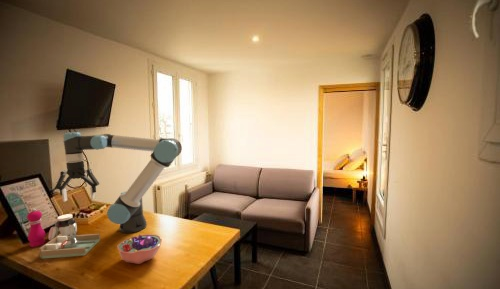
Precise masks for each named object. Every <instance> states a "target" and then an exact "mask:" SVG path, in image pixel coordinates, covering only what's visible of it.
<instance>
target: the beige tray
mask: <svg viewBox="0 0 500 289" xmlns="http://www.w3.org/2000/svg"><path fill="white" fill-rule="evenodd" d="M65 240H68V241H71V239H70V236H62V234H59V235H58V236H57V235H55V236H54V238H53V239H52V240H49V241H48V242H45V243H44V244H43V245H41V246H40V247H39V248H38V250H39V251H38V252H39V259H41V260H42V259H43V260H44V259H54V258H55V259H56V258H68V257H69V258H70V257H78V256H79V257H80V256H81V257H82V256H86V255H87V254H88V252H89V253H90V251H91V250H92V249H93V248H94V247H96V245H97V244H98V243H99V242H100V241H101V235H100V233H94V234H93V233H91V234H90V233H89V234H80V235H79V234H76V240H77V241H79V240H80V245H78V246H77V247H73V248H63V249H57V243H63V242H64V241H65Z"/></svg>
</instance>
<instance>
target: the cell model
mask: <svg viewBox="0 0 500 289" xmlns="http://www.w3.org/2000/svg"><path fill="white" fill-rule="evenodd" d="M162 241H163V240H162V238H161V236H160V235H157V234H148V233H147V234H146V233H145V234H138V235H137V236H136V235H135V236H132V237H129V238H126V239H124V240H122V241H121V242H120V243H118V244H117V246H116V248H117V250H118V252H119V255H120V258H121V259H122V260H123V261H124V262H126V263H129V264H130V263H131V264H135V265H140V264H142V263H144V262H147V261H150V260H151V259H153V258H154V257H155V256H156V255H157V254H158V251H159V249H160V248H161V246H162Z"/></svg>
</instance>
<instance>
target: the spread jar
mask: <svg viewBox="0 0 500 289" xmlns="http://www.w3.org/2000/svg"><path fill="white" fill-rule="evenodd" d="M70 219H75V218H74V217H73V214H72V213H66V214H63V215H59V216H57V221H56V222H55V224H54V226H52V227H50V229H49V232H48V236H47V237H48V240H49V241H51V240H52V239H54V238H55V237H56V236H58V235H59V234H62V236H70V229H69V224H68V221H69V220H70ZM75 230H76V232H78V228H77V221H76V220H75Z"/></svg>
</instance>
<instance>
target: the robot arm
mask: <svg viewBox="0 0 500 289" xmlns="http://www.w3.org/2000/svg"><path fill="white" fill-rule="evenodd" d="M62 137H63V146H64V154H65V155H64V156H65V162H66V163H65V164H66V170H61V171H60V174H59V175H60V176H59V178H58V180H57V182H56V185H55V187H54V188H55V190H59V192H60V193H59V195H60V196H62V202H63V203H64V202H67V201H68V193H67V188H66V187H67V185H68V184H69V183H70V181H71V180H74V179H76V180H77V179H81V180H83V181H84V182H86V183H87V185H89V186H90V187H89V190H90V199H91V200H94V199H95V198H96V195H95V193H97V188H96V187H97V186H99V185H100V182H99V181H98V179H97V178H96V177H95V175H94V173H93V172H92V169H91V168H89V169H85V161H84V154H83V152H84V151H86V150H88V151H89V150H90V151H91V150H92V151H93V150H104V149H105V148H112V149H114V148H115V149H124V150H125V149H126V150H131V151H132V150H133V151H134V150H135V151H142V152H143V151H144V152H152V153H151V154H150V160H149V161H148V163H147V164H146V166H144V168H143V169H142V170H141V172H140V173H139V174H138V176H137V177H136V179H135V180H134V181H133V182H132V184H131V186H129V188H128V189H127V191H123V192H121V193H120V195H119V196H118V197H117V199H116V200H115V202H114V203H113V204H111V205H110V206H109V207H108V209H107V212H106V215H107V218H108V220H109V221H110V222H111V223H113V224H116V225H119V227H118V228H119V232H121V233H122V234H131V233H137V232H140V231H143V230H144V229H145V228H146V227H147V225H148V224H147V223H148V222H147V219H146V218H145V215H144V209H143V208H144V207H143V206H144V205H143V197H144V196H145V195H146V194H147V192H148V190H149V189H150V188H151V186H152V185H153V184H154V183H155V181H156V180H157V179H158V177H159V176H160V174H161V173H162V172H163V170H164V169H167V168H169V167H170V166H171V164H172V163H173V162H174V161H175V159H176V158H177V157H178V156H180V154H181V152H182V149H183V148H182V144H181V142H180V141H179V140H178V139H176V138H170V137H169V138H164V137H160V138H158V139H157V138H155V139H154V138H146V137H135V136H127V135H126V136H124V135H118V134H117V135H116V134H111V133H104V134H103V133H102V134H95V135H82V133H81V132H79V131H77V132H76V131H75V132H66V133H64V134H63V136H62ZM86 174H87V175H86ZM66 175H68V176H67V178H66V180H64V179H65V177H66ZM63 181H64V182H63Z"/></svg>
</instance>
